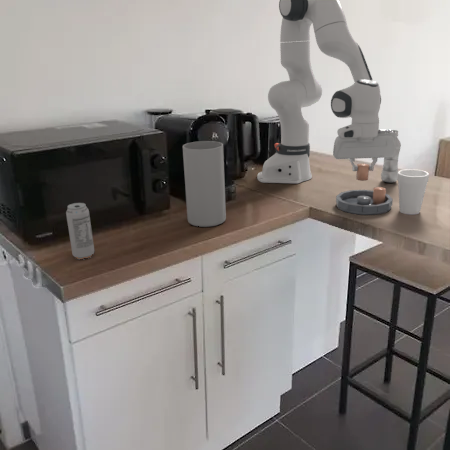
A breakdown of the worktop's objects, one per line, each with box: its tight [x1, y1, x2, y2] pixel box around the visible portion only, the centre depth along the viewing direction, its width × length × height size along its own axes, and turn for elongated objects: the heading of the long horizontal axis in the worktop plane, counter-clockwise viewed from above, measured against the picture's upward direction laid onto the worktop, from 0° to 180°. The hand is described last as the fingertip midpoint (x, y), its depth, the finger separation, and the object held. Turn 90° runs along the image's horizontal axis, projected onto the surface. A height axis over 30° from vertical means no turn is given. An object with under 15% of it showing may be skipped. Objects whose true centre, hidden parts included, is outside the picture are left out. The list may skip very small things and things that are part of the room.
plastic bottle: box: [380, 129, 402, 183], centre depth 196 cm, size 6×7×20 cm
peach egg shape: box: [372, 186, 387, 205], centre depth 173 cm, size 4×4×5 cm
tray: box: [335, 189, 393, 216], centre depth 174 cm, size 18×18×3 cm
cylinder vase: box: [182, 140, 227, 228], centre depth 162 cm, size 12×12×25 cm
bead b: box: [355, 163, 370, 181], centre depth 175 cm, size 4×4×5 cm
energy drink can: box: [65, 202, 95, 258], centre depth 141 cm, size 6×6×15 cm
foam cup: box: [397, 168, 430, 216], centre depth 166 cm, size 10×9×13 cm
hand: (362, 170), depth 175 cm, fingers closed on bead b, 4 cm apart
